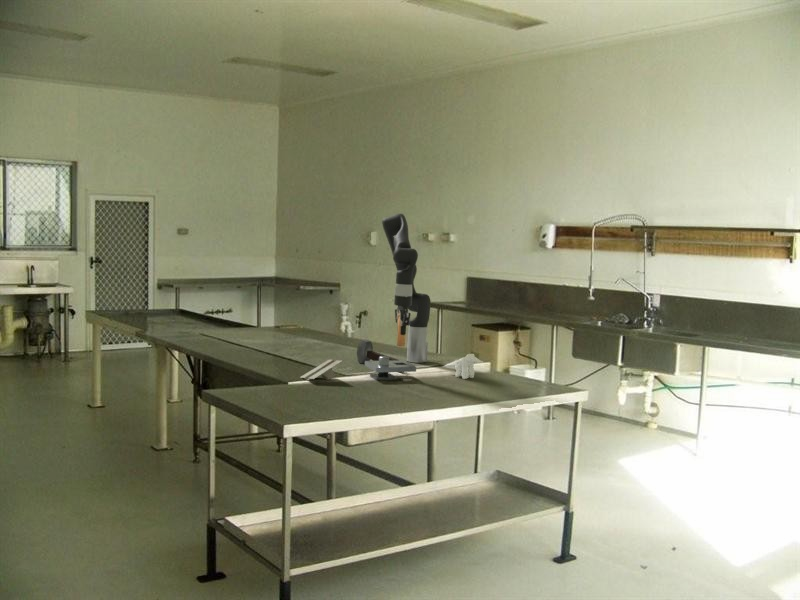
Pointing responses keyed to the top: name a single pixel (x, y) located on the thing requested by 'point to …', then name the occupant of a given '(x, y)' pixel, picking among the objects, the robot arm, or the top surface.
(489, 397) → the top surface
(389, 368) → the plate with round knob
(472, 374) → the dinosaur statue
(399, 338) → the pin
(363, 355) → the hammer
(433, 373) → the top surface
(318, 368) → the gray slanted slat stand
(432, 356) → the top surface
